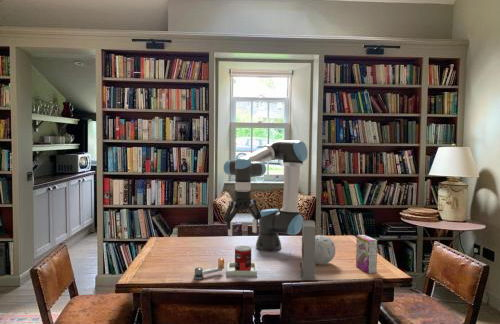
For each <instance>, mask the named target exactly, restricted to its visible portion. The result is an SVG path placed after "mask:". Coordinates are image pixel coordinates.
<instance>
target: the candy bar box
mask: <svg viewBox="0 0 500 324" xmlns="http://www.w3.org/2000/svg"><path fill="white" fill-rule="evenodd" d="M355 245H356V246H355V247H356V249H355V251H356V252H355V254H356V255H355V259H356V261H355V266H356V267H357V268H358V269H360V270H362V271H364V272H365V273H366V274H375V273H377V269H378V267H377V263H378V262H377V260H378V240H377V239H375V238H373V237H371V236H368V235H366V234H357V235H356V244H355Z"/></svg>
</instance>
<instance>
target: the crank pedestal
mask: <svg viewBox="0 0 500 324" xmlns="http://www.w3.org/2000/svg"><path fill="white" fill-rule="evenodd" d="M193 280H195V281H202V280H204V275H202V276H200V277H196V276H195V274H194V275H193Z"/></svg>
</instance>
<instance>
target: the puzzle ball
mask: <svg viewBox="0 0 500 324" xmlns="http://www.w3.org/2000/svg"><path fill="white" fill-rule="evenodd" d="M335 255H336V246H335V243H334V242H333V240H332V239H331V238H330V237H328V236H326V235H323V234H318V235H315V264H316V265H320V266H324V265H326V264H329V263H330V262H331V261H333V259H334V258H335Z"/></svg>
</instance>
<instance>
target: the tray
mask: <svg viewBox="0 0 500 324" xmlns="http://www.w3.org/2000/svg"><path fill="white" fill-rule="evenodd" d="M226 277H228V278H230V277H231V278H235V277H236V278H241V277H242V278H248V277H249V278H257V277H258V269H257V262H251V270H250V271H236V270H235V261H234V262H229V261H228V263H227V268H226Z"/></svg>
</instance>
